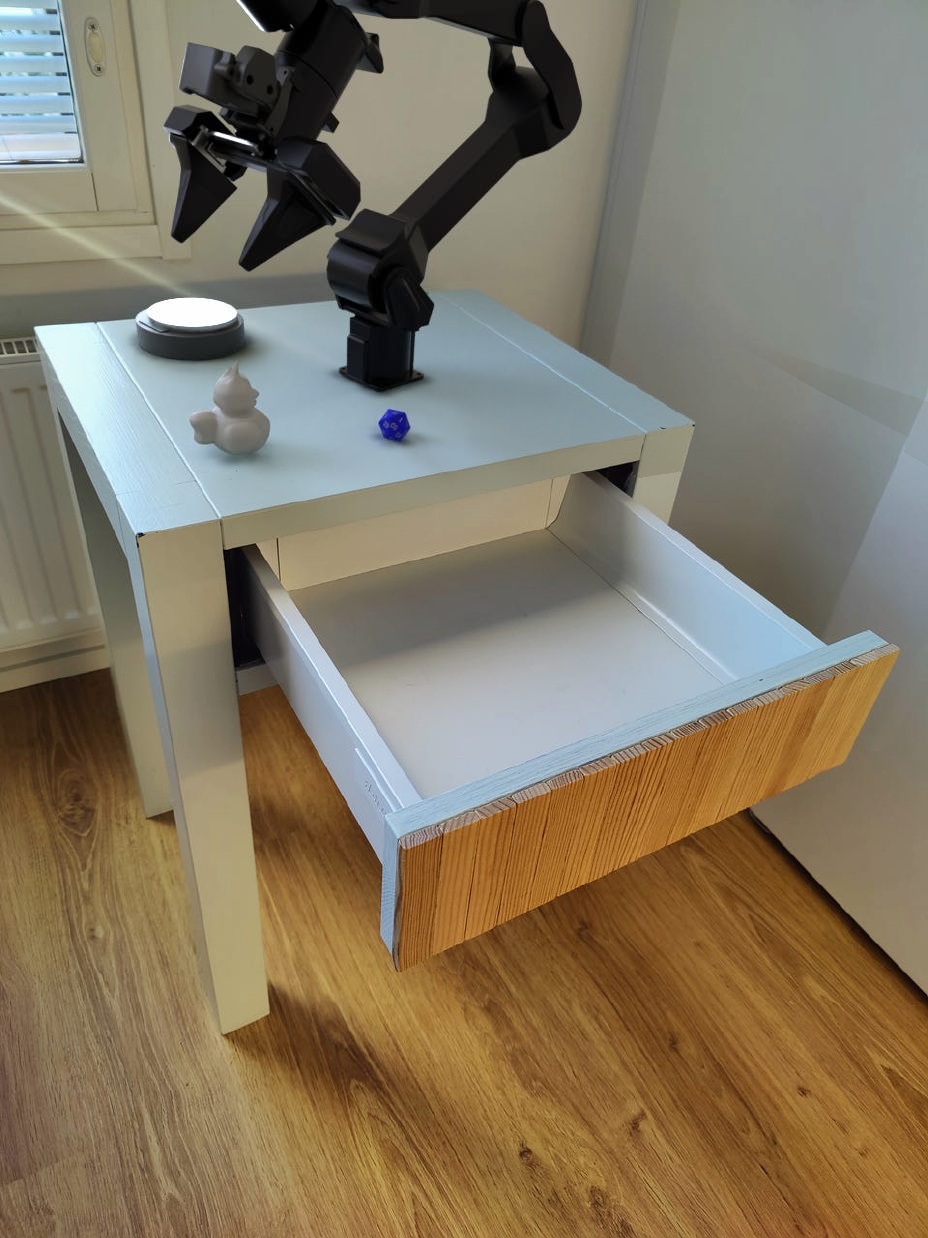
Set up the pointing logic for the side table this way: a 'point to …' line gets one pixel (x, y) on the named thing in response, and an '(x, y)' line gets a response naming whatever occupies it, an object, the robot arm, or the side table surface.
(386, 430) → the die
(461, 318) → the side table surface
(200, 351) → the scale
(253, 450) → the rubber duck
